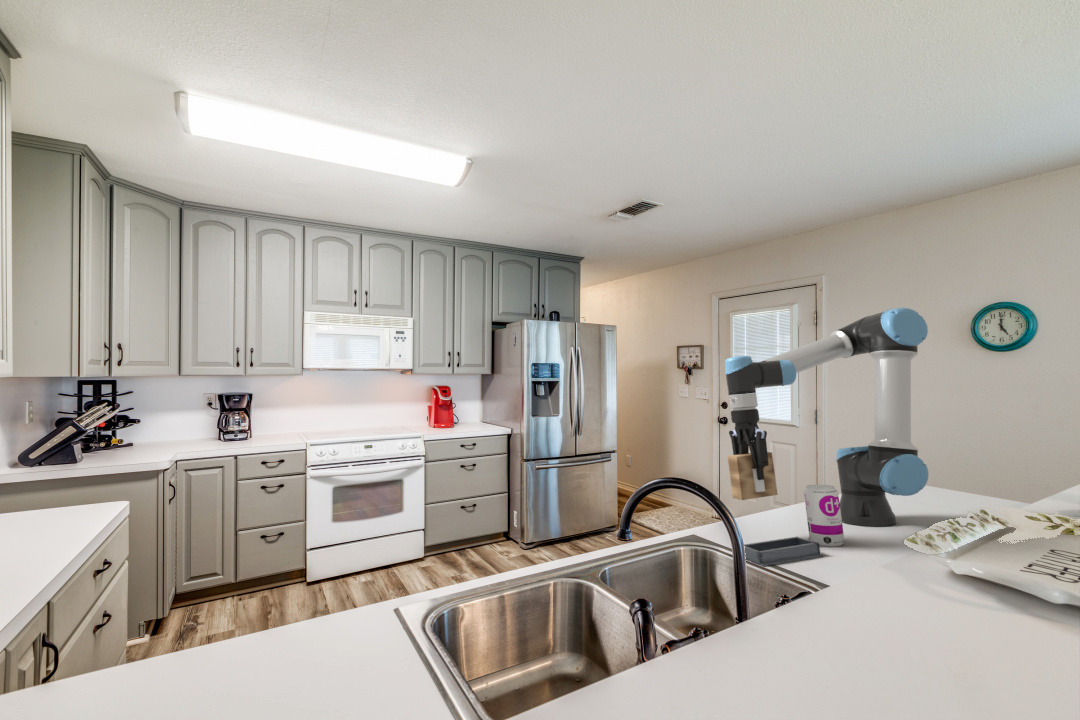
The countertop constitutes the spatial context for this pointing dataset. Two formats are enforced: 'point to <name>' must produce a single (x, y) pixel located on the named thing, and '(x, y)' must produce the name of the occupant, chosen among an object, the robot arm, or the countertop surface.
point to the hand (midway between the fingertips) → (754, 490)
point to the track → (782, 551)
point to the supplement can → (824, 515)
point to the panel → (750, 477)
